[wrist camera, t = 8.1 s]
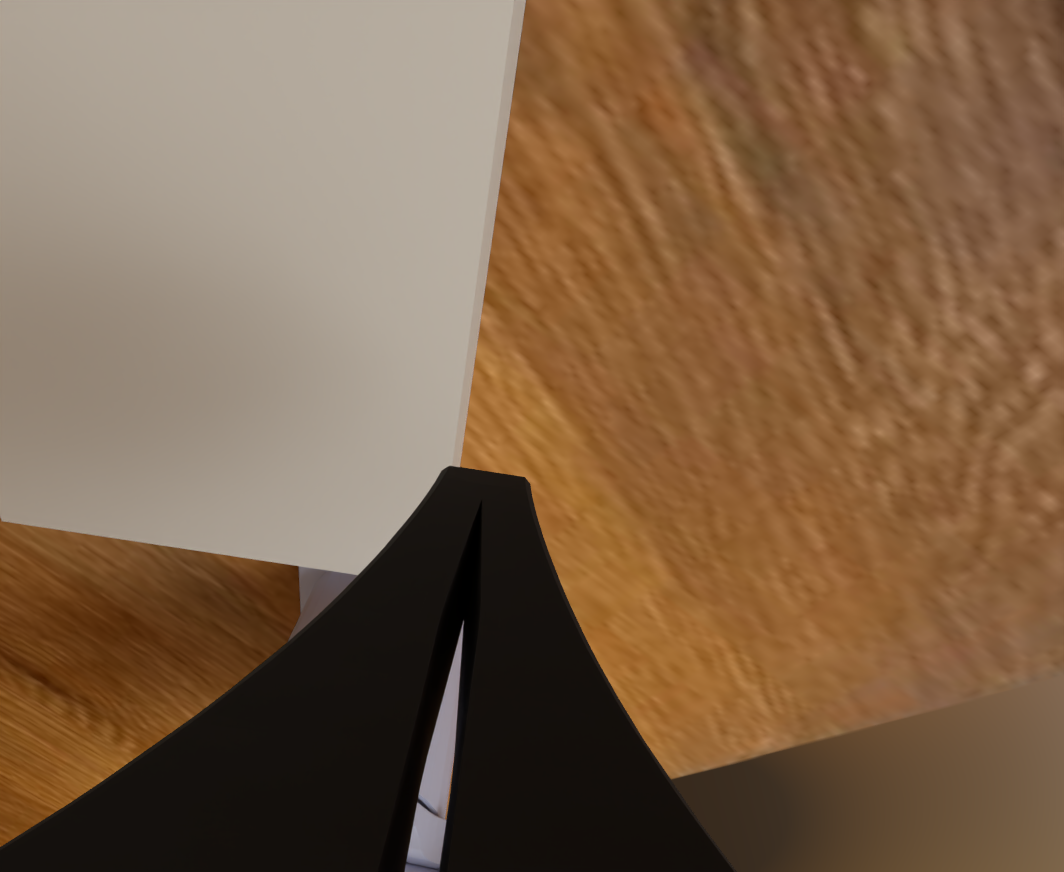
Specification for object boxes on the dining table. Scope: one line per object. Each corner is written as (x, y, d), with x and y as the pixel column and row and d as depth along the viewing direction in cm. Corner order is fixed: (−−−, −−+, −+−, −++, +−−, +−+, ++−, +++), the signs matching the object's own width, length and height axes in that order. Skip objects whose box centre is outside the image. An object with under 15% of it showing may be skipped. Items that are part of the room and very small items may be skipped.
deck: (453, 511, 23) (436, 586, 19) (88, 453, 22) (1, 521, 18) (574, -342, 11) (584, -528, 8) (-184, -546, 10) (-545, -856, 7)
